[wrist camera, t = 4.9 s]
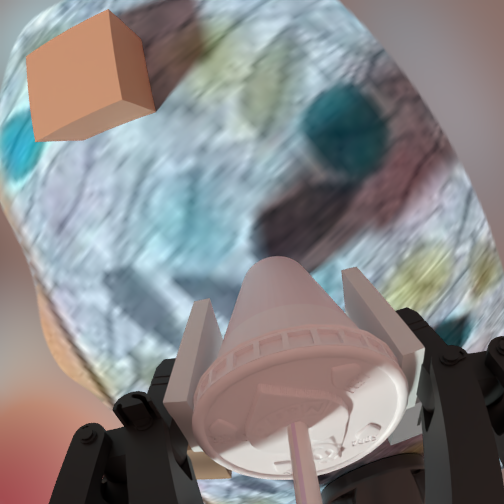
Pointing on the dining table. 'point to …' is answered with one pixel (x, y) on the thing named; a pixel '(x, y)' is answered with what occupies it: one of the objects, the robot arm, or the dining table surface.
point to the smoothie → (295, 384)
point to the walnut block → (207, 466)
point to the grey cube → (407, 425)
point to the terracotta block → (88, 80)
